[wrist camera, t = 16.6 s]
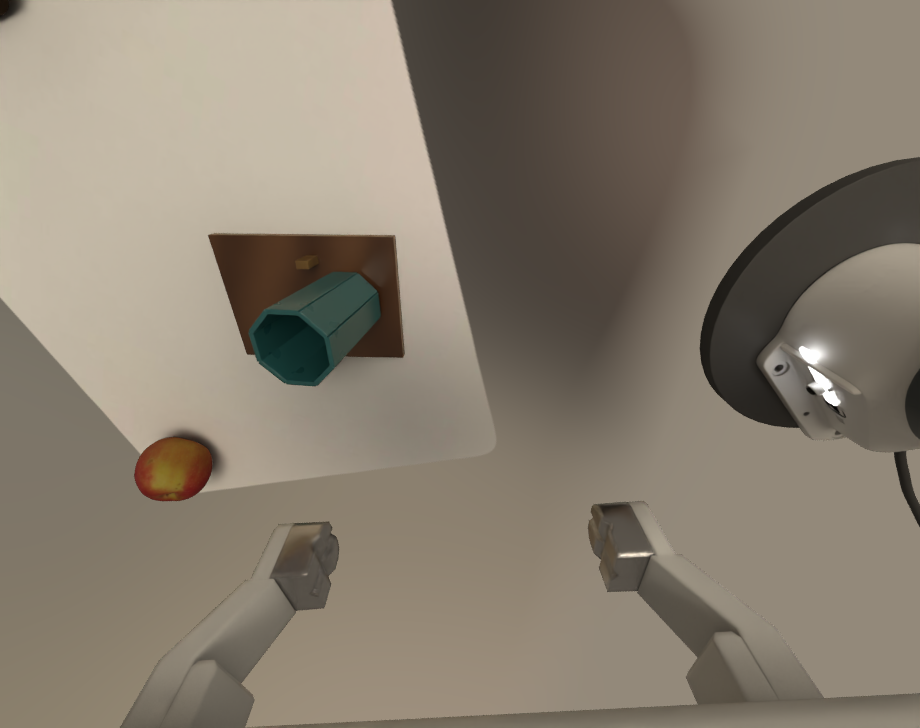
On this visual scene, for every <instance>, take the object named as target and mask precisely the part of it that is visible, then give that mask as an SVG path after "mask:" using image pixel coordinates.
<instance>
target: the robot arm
mask: <svg viewBox="0 0 920 728" xmlns="http://www.w3.org/2000/svg"><path fill="white" fill-rule="evenodd" d="M756 364H757V366H758V367H759V369H760V370H761V372H762V373H763V375H764V376H765V378H766V379H767V380H768V382H769V383H770V385H771V386H772V388H773V389H774V391H775V392H776V394H777V395H778V397H779V398H780V400H781V401H782V403H783V404H784V406H785V407H786V409H787V410H788V411H789V413H790V414H791V416H792V417H793V419H794V420H795V422H796V423H797V425H798V426H799V428H800V429H801V430H802V432H803V433H804V434H805V435H806V436H808V437H809V438H811V439H812V440H834V439H840V438H846V437H847V438H849V439H850V440H852V441H853V442H855V443H856V444H858V445H860V446H861V447H863V448H865V449H868V450H871V451H876V452H894V457H895V463H896V467H897V471H898V476H899V481H900V485H901V489H902V492H903V494H904V497H905V499H906V500H907V503H908V505H909V506H910V508H911V511H912V513H913V515H914V516H915V519H916V521H917V523H918V525H919V527H920V504H919V503H918V500H917V498H916V496H915V494H914V491H913V487H912V484H911V478H910V473H909V469H908V465H907V459H906V451H907V450H913V449H919V448H920V244H914V243H897V244H890V245H884V246H880V247H876V248H873V249H870V250H867V251H864V252H862V253H859V254H857V255H855V256H853V257H851V258H849V259H847V260H845V261H843V262H842V263H840V264H838V265H837V266H835V267H833V268H832V269H830V270H829V271H828V272H826V273H825V274H824V275H822V276H821V277H820V278H819V279H817V280H816V281H815V282H814V283H813V284H812V285H811V286H810V287H809V288H808V289H807V290H806V291H805V292H804V293H803V294H802V295H801V296H800V297H799V299H798V300H797V301H796V302H795V304H794V305H793V307H792V308H791V310H790V311H789V313H788V315H787V316H786V318H785V320H784V323H783V325H782V327H781V329H780V330H779V332H778V334H777V335H776V337H775V338H774V339H773V340H772V341H771V342H770V343H769V344H768V345H767V346H766V347H765V348H764V349H763V350H762V351H761V353H760V354H759V355H758V357H757V360H756ZM591 513H592V516H593V518H592V519H591V520H589V524H588V533H589V539H590V544H591V547H592V550H593V552H594V554H595V555H596V556H598V557H599V558H600V559H601V562H600V566H599V570H600V572H601V575H602V578H603V581H604V583H605V586H606V589H607V592H617V591H618V592H619V591H638V592H637V593H638V594H639V595H640V596H641V597H642V598H643V599H644V600H645V601H646V603H647V604H648V605H649V606H650V607H651V608H652V609H653V610H654V611H655V612H656V613H657V614H658V615H659V617H660V618H661V619H662V620H663V621H664V622H665V623H666V624H667V625H668V626H669V627H670V628H671V629H672V630H673V632H674V633H675V634H676V635H677V636H678V637H679V638H680V639H681V640H682V641H683V642H684V643H685V644H686V645H687V647H689V648H690V650H691V651H692V652H693V653H694V654H695V655H696V656H697V657H698V658H697V660H696V661H695V663H694V664H693V666H692V667H691V669H690V670H689V672H688V674H687V676H686V679H687V681H688V683H689V685H690V688H691V690H692V692H693V695H694V697H695V699H696V701H697V704H698V705H679V706H660V707H639V708H621V709H620V708H619V709H600V710H582V711H581V710H580V711H562V712H561V711H560V712H541V713H520V714H503V715H502V714H501V715H482V716H461V717H442V718H422V719H403V720H382V721H363V722H343V723H323V724H303V725H282V726H262V727H245V726H246V723H247V720H248V717H249V714H250V712H251V709H252V706H253V703H254V697H253V694H251V693H250V692H249V691H248V690H247V689H246V688H245V687H244V686H243V685H242V684H241V683H242V682H243V681H244V679H245V678H246V677H247V675H248V674H249V673H250V671H251V670H252V669H253V668H254V666H255V665H256V664H257V662H258V661H259V660H260V659H261V657H262V656H263V655H264V653H265V652H266V651H267V649H268V648H269V647H270V646H271V644H272V643H273V642H274V640H275V639H276V638H277V637H278V635H279V634H280V633H281V631H282V630H283V629H284V627H285V626H286V625H287V623H288V622H289V621H290V620H291V618H292V617H293V616H294V615H295V613H296V611H297V610H309V609H319V608H320V609H321V608H324V607H325V604H326V600H327V597H328V593H329V590H330V586H331V582H330V580H329V577H328V576H329V575H330V574H331V573H332V572H333V571H334V570H335V568H336V565H337V561H338V555H339V544H338V540H337V537H336V536H334V535H332V534H331V531H332V526H331V524H330V523H329V522H312V523H290V524H279V525H278V526H277V527H276V528H275V529H274V531H273V533H272V535H271V537H270V539H269V541H268V543H267V546H266V548H265V549H264V552H263V554H262V556H261V558H260V560H259V562H258V564H257V566H256V568H255V571H254V573H253V575H252V577H251V579H250V580H245V581H244V582H243V583H242V584H241V585H239V586H238V587H237V588H236V589H235V590H234V591H233V592H232V593H231V594H230V595H229V596H228V597H227V598H225V599H224V600H223V601H222V602H221V603H220V604H219V605H218V606H217V607H216V608H215V609H214V610H213V611H212V612H211V613H209V614H208V615H207V616H206V617H205V618H204V619H203V620H202V621H201V622H200V623H199V624H198V625H197V626H196V627H194V628H193V629H192V630H191V631H190V632H189V633H188V634H187V635H186V636H185V637H184V638H183V639H182V640H180V642H178V643H177V644H176V645H175V646H174V647H173V648H172V649H171V650H170V651H169V652H168V653H167V654H165V655H164V656H163V657H162V658H161V659H160V660H159V661H158V663H157V665H156V666H155V668H154V670H153V671H152V673H151V675H150V677H149V678H148V680H147V682H146V684H145V685H144V687H143V689H142V691H141V692H140V694H139V696H138V697H137V699H136V701H135V702H134V704H133V706H132V708H131V709H130V711H129V713H128V714H127V716H126V718H125V720H124V721H123V723H122V725H121V726H120V728H920V693H917V694H898V695H879V696H878V695H877V696H859V697H839V698H838V697H837V698H824V697H823V696H822V694H821V693H820V691H819V690H818V688H817V687H816V685H815V684H814V682H813V681H812V680H811V678H810V676H809V675H808V674H807V672H806V671H805V669H804V668H803V667H802V665H801V663H800V662H799V660H798V659H797V658H796V656H795V654H794V653H793V652H792V650H791V649H790V647H789V646H788V645H787V643H786V641H785V640H784V639H783V637H782V635H781V634H780V633H779V631H778V630H777V628H776V627H775V626H773V625H772V624H771V623H769V622H768V621H767V620H766V619H764V618H763V617H762V616H760V615H759V614H757V612H755V611H754V610H753V609H751V608H750V607H749V606H748V605H746V604H745V603H743V602H742V601H741V600H740V599H739V598H737V597H736V596H734V595H733V594H732V593H731V592H729V591H728V590H727V589H726V588H724V587H723V586H722V585H720V584H719V583H718V582H717V581H715V580H714V579H713V578H711V577H710V576H709V575H707V574H706V573H705V572H704V571H702V570H701V569H700V568H698V567H697V566H696V565H694V564H693V563H692V562H691V561H689V560H688V559H687V558H685V557H684V556H683V555H682V554H675V552H674V550H673V548H672V547H671V545H670V543H669V541H668V539H667V538H666V536H665V534H664V532H663V531H662V529H661V527H660V525H659V524H658V522H657V520H656V518H655V517H654V515H653V513H652V511H651V509H650V508H649V506H648V504H647V503H645V502H644V501H637V502H617V503H605V504H594V505H593V506H592V508H591Z"/></svg>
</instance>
